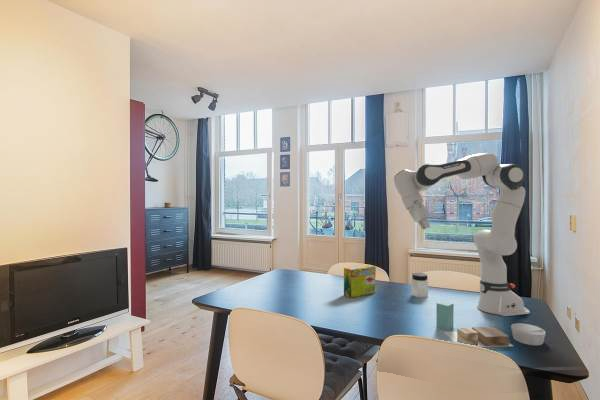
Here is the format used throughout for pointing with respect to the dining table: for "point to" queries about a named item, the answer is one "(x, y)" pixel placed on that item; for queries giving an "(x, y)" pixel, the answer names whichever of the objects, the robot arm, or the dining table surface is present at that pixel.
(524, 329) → the ramekin
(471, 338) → the oak cube
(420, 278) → the jar
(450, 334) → the blueprint board
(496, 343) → the walnut base
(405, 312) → the dining table surface
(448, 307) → the teal block
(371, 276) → the fingerpaint box
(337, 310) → the dining table surface
